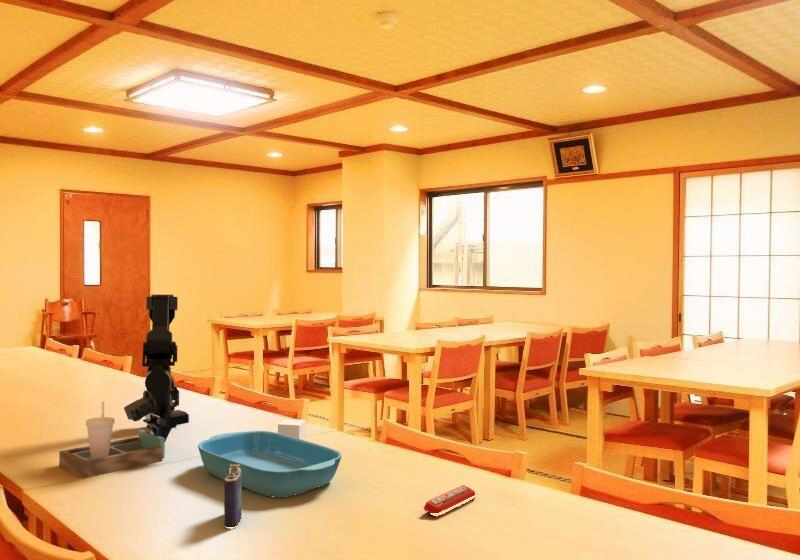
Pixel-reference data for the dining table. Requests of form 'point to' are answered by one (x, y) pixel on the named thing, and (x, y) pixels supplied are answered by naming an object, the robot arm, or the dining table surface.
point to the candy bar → (448, 499)
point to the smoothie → (100, 435)
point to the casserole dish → (270, 461)
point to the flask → (232, 496)
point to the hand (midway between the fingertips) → (160, 447)
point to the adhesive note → (293, 428)
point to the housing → (108, 459)
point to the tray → (132, 445)
